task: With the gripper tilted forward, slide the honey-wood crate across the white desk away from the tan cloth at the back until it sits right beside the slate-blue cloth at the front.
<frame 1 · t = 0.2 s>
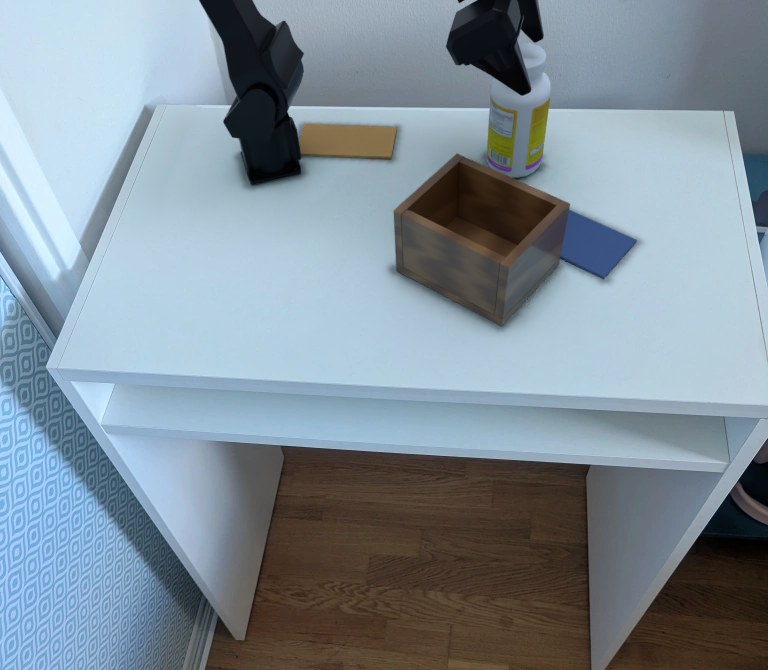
hand: (533, 65, 77), 15 cm above the table, tool tilted 30°, fingers open, 9 cm apart
tan cloth: (346, 142, 95), on the table
crate: (477, 268, 83), on the table
supplement bottle: (513, 163, 92), on the table
blue cloth: (572, 238, 85), on the table
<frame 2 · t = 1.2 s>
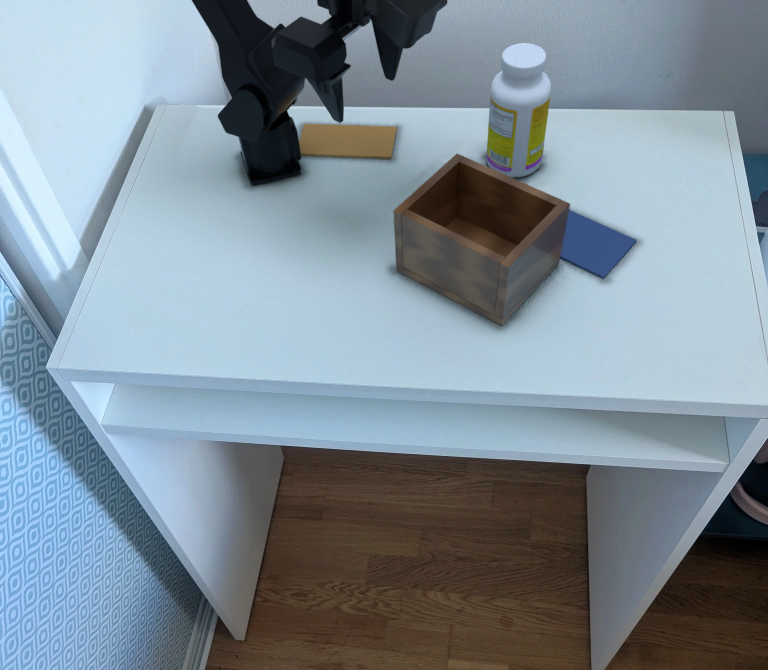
hand: (364, 99, 80), 12 cm above the table, tool pointing down, fingers open, 8 cm apart
nothing on the table moved.
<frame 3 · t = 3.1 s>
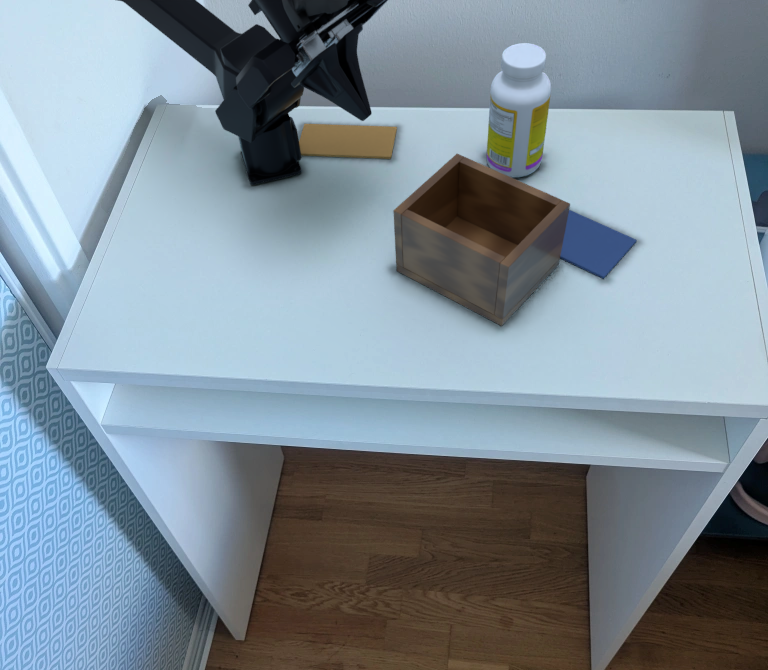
hand: (367, 117, 78), 12 cm above the table, tool tilted 45°, fingers closed
nothing on the table moved.
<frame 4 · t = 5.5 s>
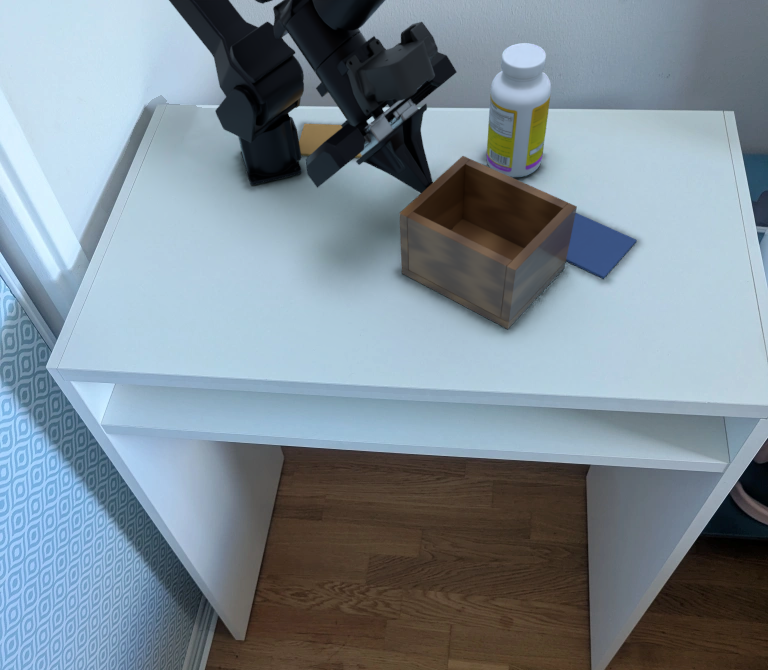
hand: (429, 192, 80), 7 cm above the table, tool tilted 45°, fingers closed, pressing on crate
crate: (482, 270, 83), on the table, touching gripper
everything else where it was.
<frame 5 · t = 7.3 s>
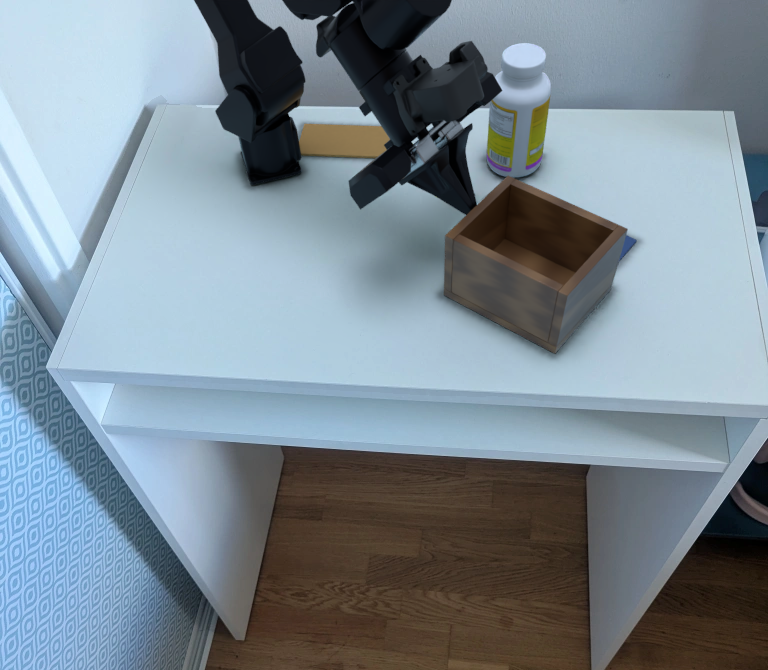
hand: (473, 213, 78), 7 cm above the table, tool tilted 45°, fingers closed
crate: (526, 292, 81), on the table
everything else where it was.
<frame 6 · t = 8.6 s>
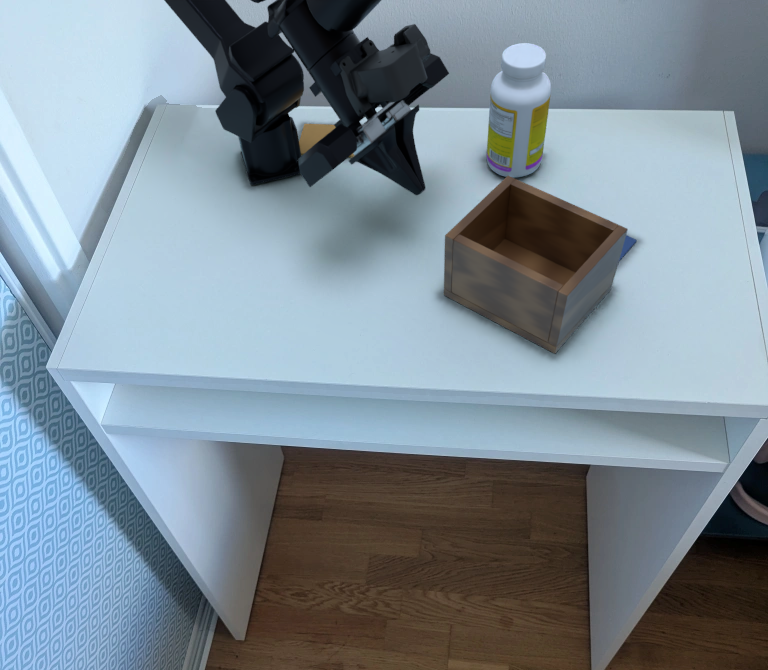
hand: (421, 192, 80), 6 cm above the table, tool tilted 45°, fingers closed
nothing on the table moved.
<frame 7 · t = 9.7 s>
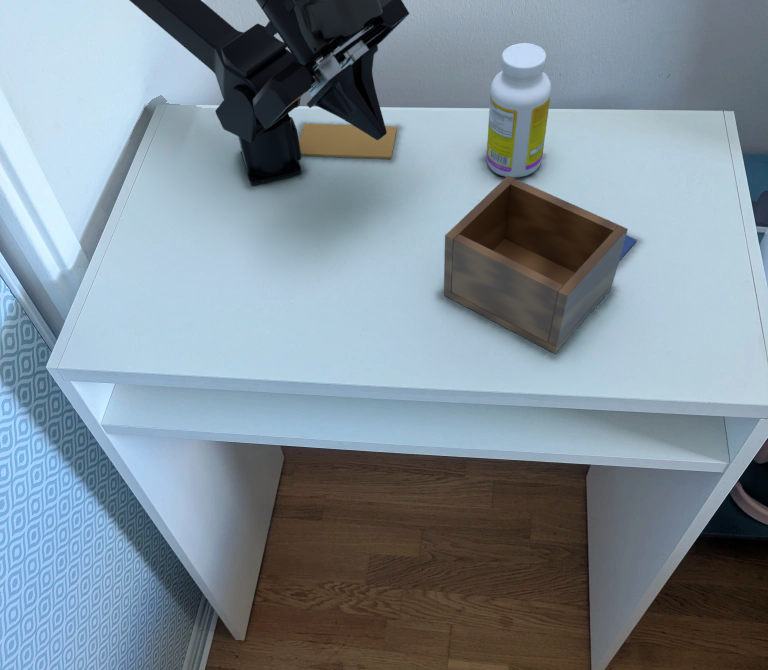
hand: (382, 137, 78), 11 cm above the table, tool tilted 45°, fingers closed
nothing on the table moved.
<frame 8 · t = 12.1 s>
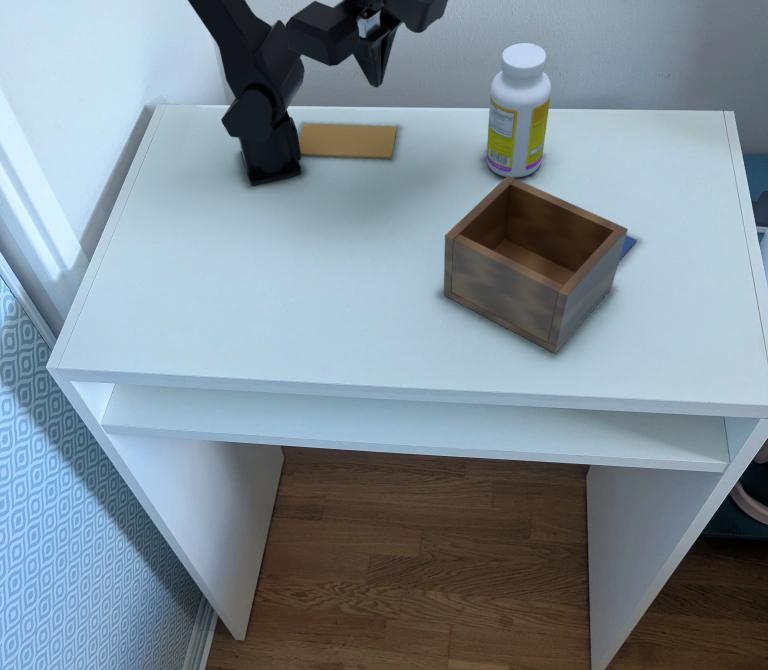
hand: (376, 85, 81), 12 cm above the table, tool pointing down, fingers closed
nothing on the table moved.
at the end: crate 9.9 cm from the blue cloth (horizontally); crate tilted 0° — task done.
